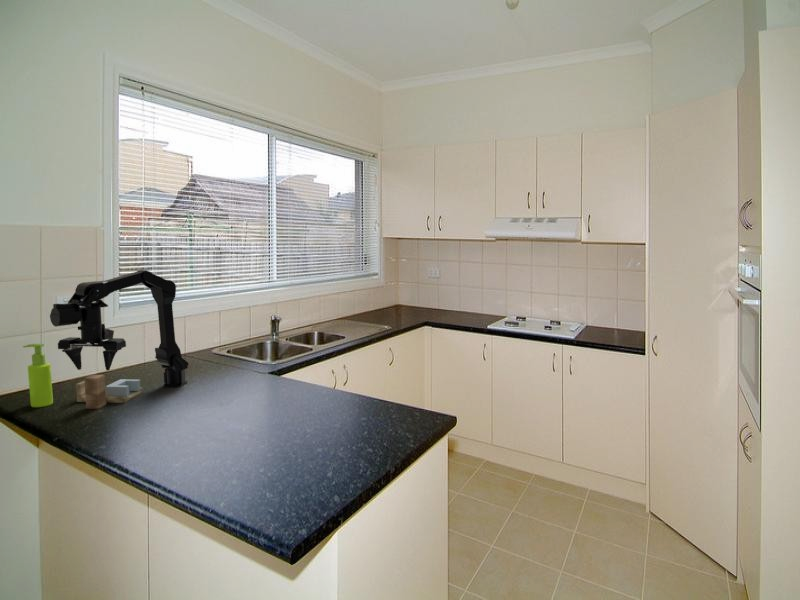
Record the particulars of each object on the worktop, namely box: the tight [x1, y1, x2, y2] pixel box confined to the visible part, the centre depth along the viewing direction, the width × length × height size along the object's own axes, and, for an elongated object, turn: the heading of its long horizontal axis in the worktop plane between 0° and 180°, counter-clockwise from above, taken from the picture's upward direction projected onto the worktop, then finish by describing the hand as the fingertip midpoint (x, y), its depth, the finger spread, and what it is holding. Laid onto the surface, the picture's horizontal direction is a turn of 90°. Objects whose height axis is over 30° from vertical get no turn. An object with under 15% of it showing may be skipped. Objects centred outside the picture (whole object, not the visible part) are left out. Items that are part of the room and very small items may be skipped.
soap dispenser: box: [22, 343, 54, 408], centre depth 156 cm, size 6×7×20 cm
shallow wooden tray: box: [75, 380, 144, 404], centre depth 165 cm, size 16×11×6 cm
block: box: [105, 378, 142, 398], centre depth 165 cm, size 7×9×4 cm
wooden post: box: [83, 374, 107, 410], centre depth 155 cm, size 4×4×10 cm
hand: (93, 369), depth 155 cm, fingers open, 9 cm apart
